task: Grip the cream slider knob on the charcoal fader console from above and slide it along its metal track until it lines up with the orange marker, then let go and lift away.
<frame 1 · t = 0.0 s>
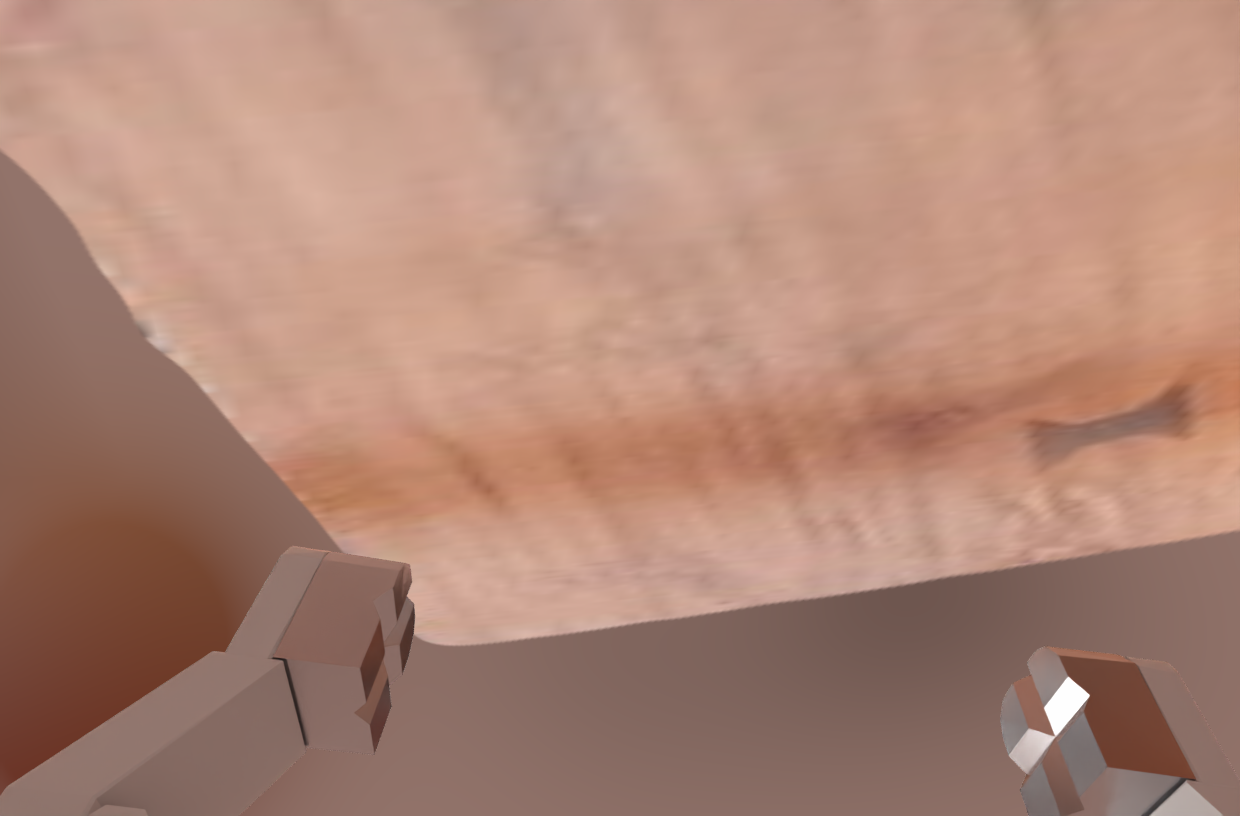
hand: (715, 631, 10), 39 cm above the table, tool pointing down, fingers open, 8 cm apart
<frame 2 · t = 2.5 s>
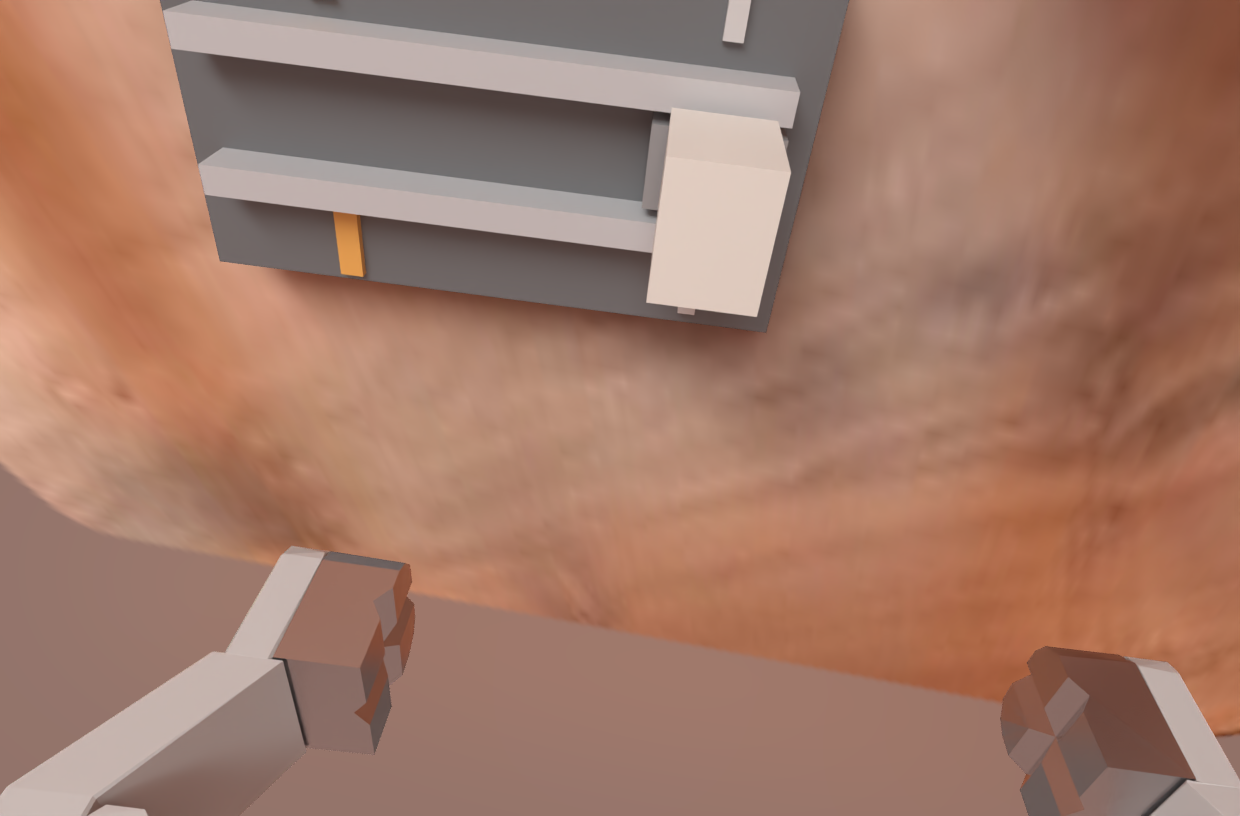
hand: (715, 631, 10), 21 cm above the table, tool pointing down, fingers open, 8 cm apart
fader console: (511, 103, 27), on the table
fader knob: (713, 197, 22), point 6 cm above the table, slide at 0.0 cm
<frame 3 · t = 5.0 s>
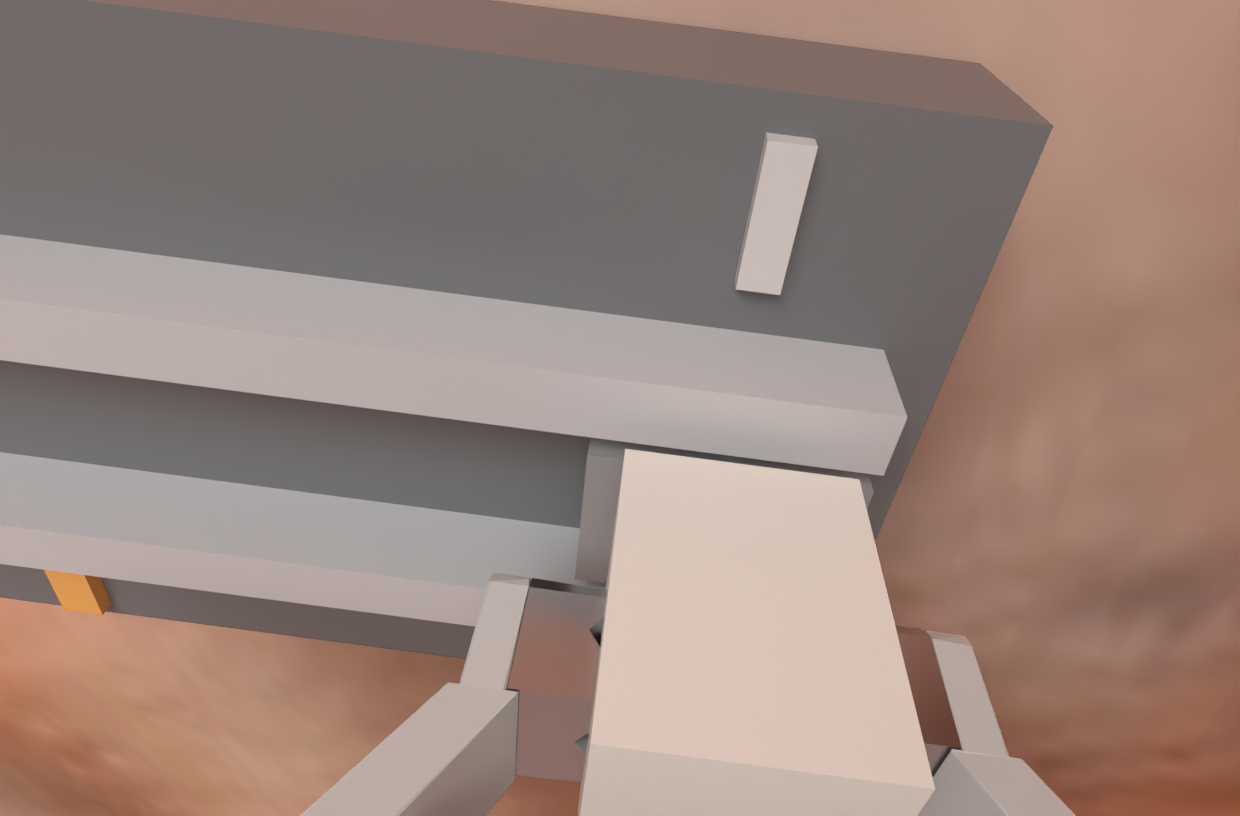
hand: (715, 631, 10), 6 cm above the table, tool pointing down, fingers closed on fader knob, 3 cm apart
fader console: (353, 323, 15), on the table
fader knob: (716, 633, 10), point 6 cm above the table, slide at 0.0 cm, touching gripper
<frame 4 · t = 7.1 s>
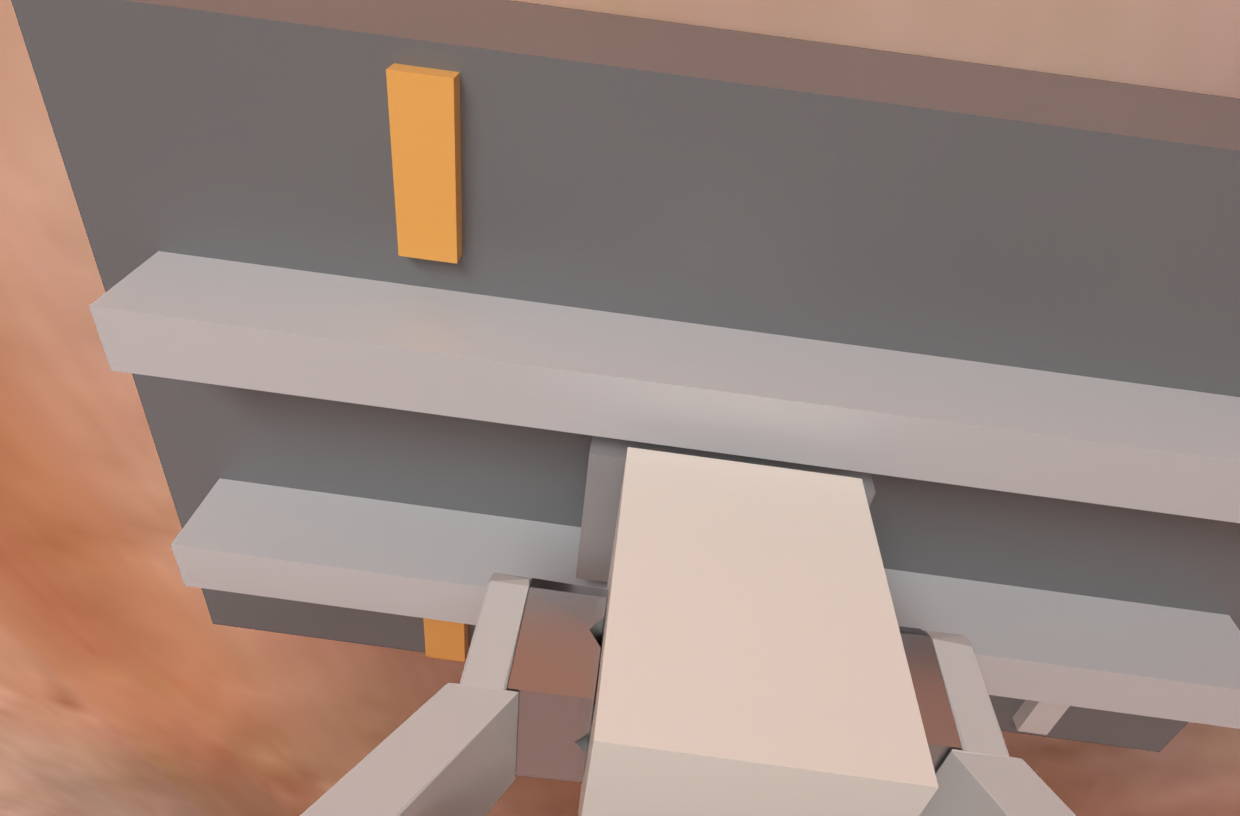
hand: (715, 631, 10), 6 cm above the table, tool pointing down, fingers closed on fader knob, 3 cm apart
fader console: (736, 373, 15), on the table
fader knob: (717, 632, 10), point 6 cm above the table, slide at 7.5 cm, touching gripper
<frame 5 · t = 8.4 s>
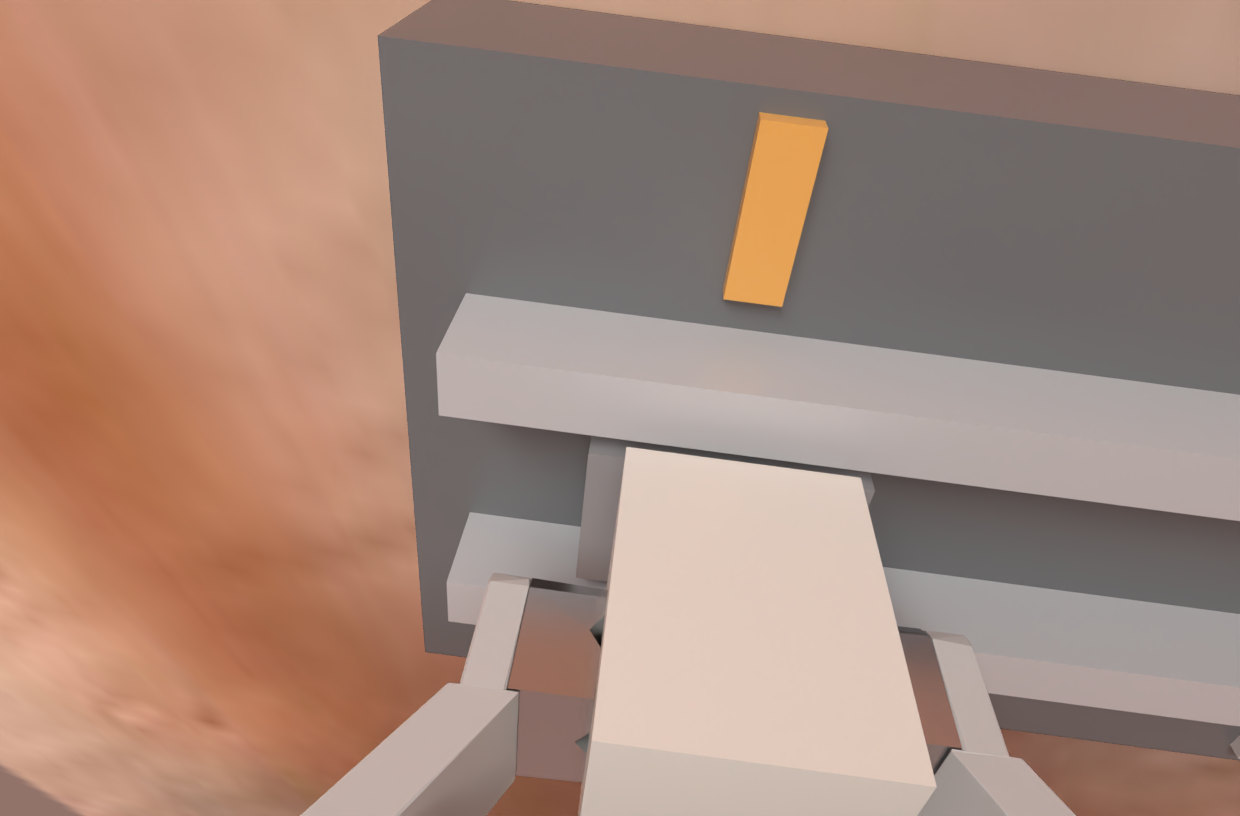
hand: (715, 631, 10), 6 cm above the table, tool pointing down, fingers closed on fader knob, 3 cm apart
fader console: (964, 402, 15), on the table
fader knob: (717, 631, 10), point 6 cm above the table, slide at 11.9 cm, touching gripper
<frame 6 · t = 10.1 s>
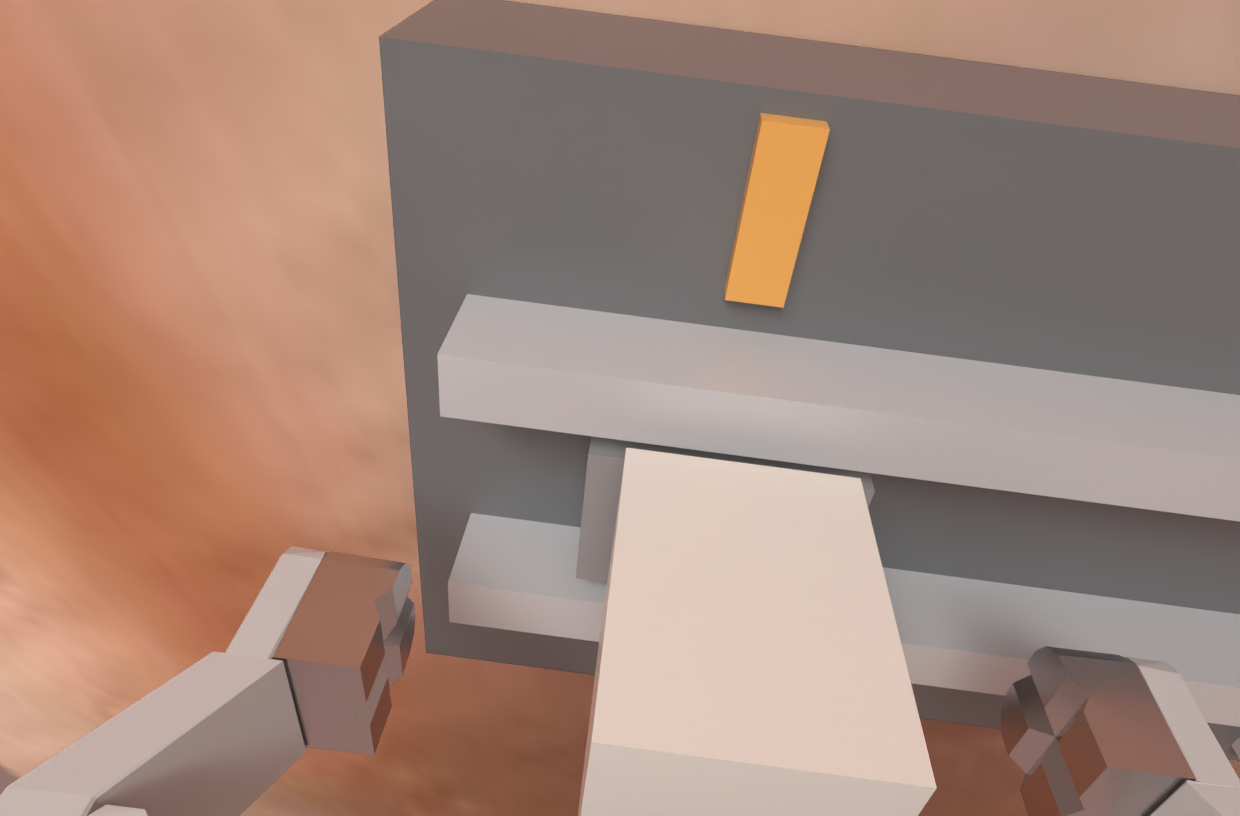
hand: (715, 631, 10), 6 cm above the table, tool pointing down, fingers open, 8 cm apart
fader console: (965, 402, 15), on the table
fader knob: (717, 632, 10), point 6 cm above the table, slide at 12.0 cm
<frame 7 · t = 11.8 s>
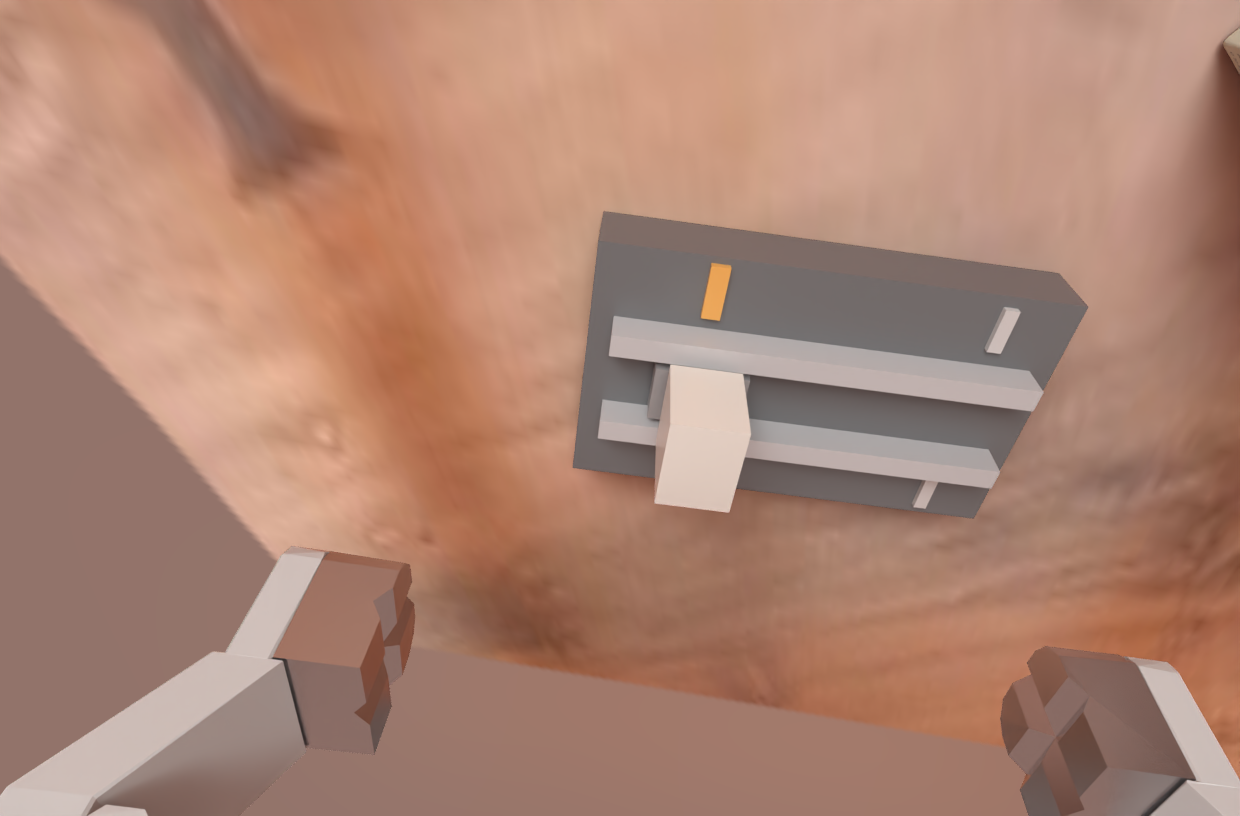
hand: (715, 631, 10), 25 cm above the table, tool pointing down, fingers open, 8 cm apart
fader console: (797, 358, 37), on the table
fader knob: (698, 424, 32), point 6 cm above the table, slide at 12.0 cm
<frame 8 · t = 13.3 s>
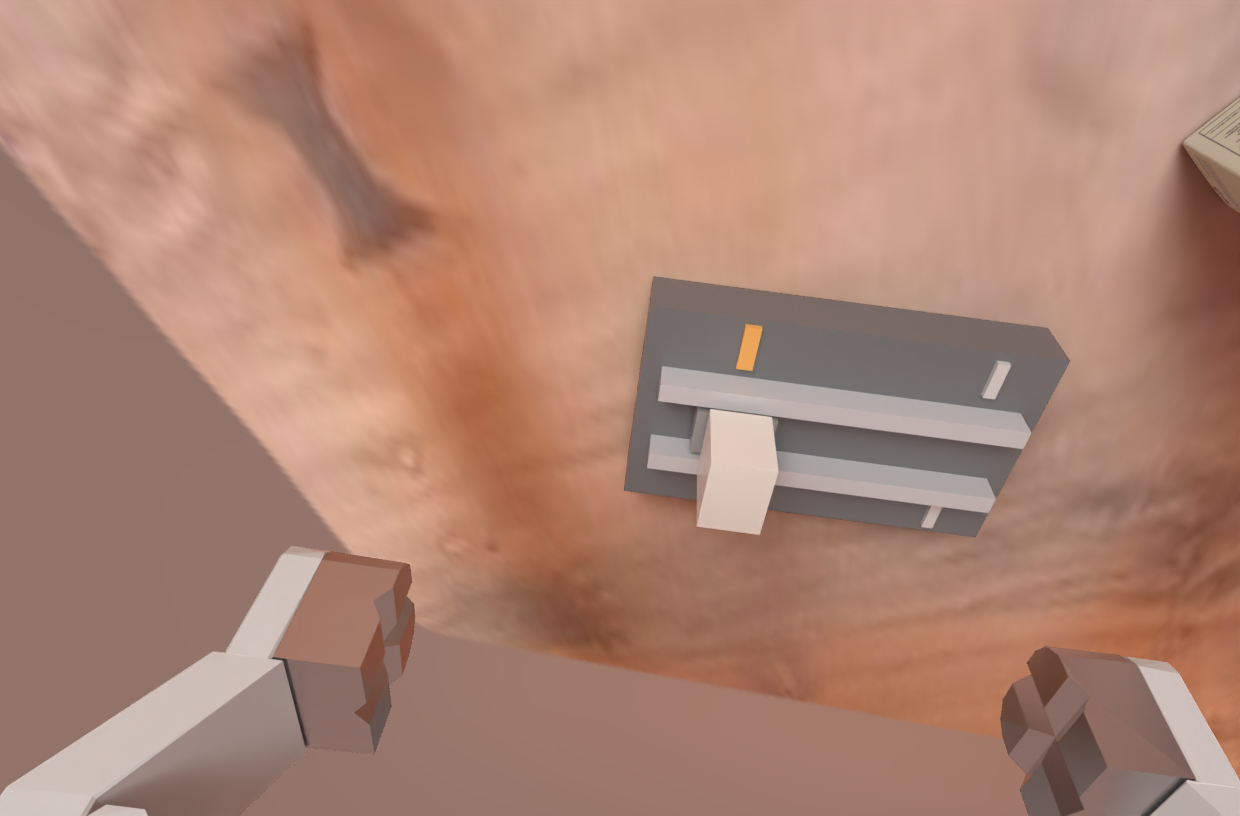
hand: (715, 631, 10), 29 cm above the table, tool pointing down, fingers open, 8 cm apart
fader console: (820, 397, 43), on the table
fader knob: (734, 459, 38), point 6 cm above the table, slide at 12.0 cm
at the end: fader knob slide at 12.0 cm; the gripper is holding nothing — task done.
